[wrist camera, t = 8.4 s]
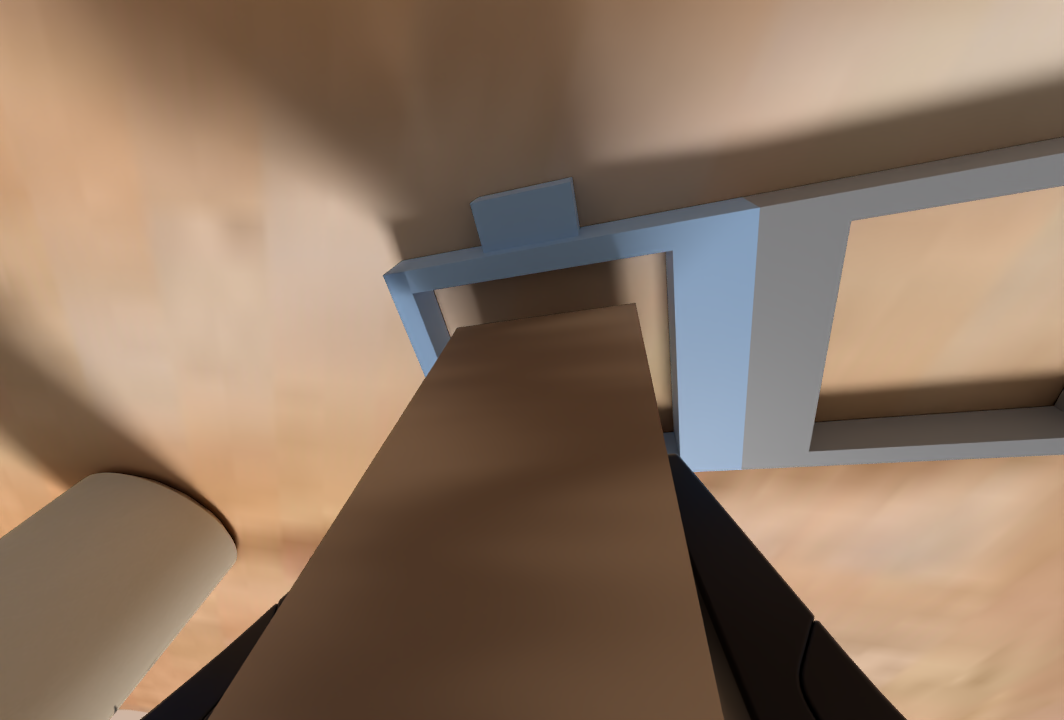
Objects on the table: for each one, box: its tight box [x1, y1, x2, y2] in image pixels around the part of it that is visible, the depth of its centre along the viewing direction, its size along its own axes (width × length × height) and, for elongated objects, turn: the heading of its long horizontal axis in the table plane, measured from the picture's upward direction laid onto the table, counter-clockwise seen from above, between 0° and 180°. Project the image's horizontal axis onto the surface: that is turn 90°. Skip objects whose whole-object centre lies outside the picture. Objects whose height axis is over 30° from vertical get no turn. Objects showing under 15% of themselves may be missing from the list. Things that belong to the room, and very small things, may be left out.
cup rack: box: [383, 137, 1064, 472], centre depth 11 cm, size 18×10×1 cm, turn 102°
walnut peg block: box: [208, 303, 724, 720], centre depth 7 cm, size 4×4×10 cm
